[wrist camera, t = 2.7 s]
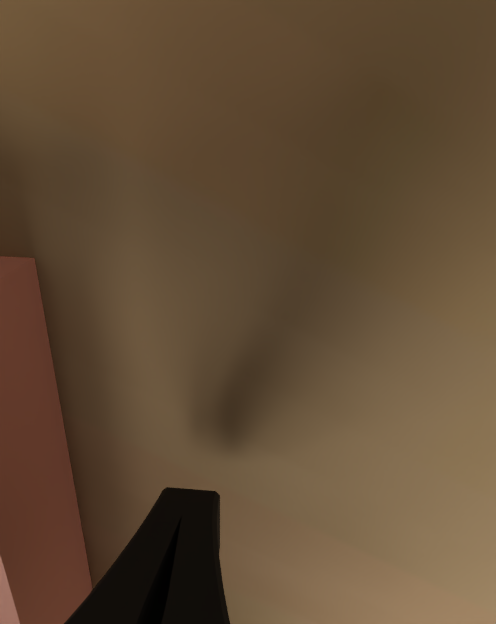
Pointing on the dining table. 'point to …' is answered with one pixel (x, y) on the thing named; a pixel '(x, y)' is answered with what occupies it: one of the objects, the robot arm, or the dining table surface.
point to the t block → (34, 466)
